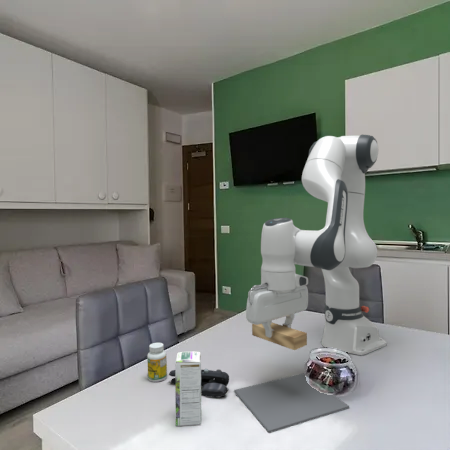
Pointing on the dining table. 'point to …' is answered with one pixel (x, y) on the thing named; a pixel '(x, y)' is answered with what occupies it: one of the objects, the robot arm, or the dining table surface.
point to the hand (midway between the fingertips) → (278, 333)
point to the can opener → (211, 382)
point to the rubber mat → (287, 402)
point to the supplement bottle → (157, 363)
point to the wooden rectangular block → (282, 336)
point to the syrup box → (188, 388)
